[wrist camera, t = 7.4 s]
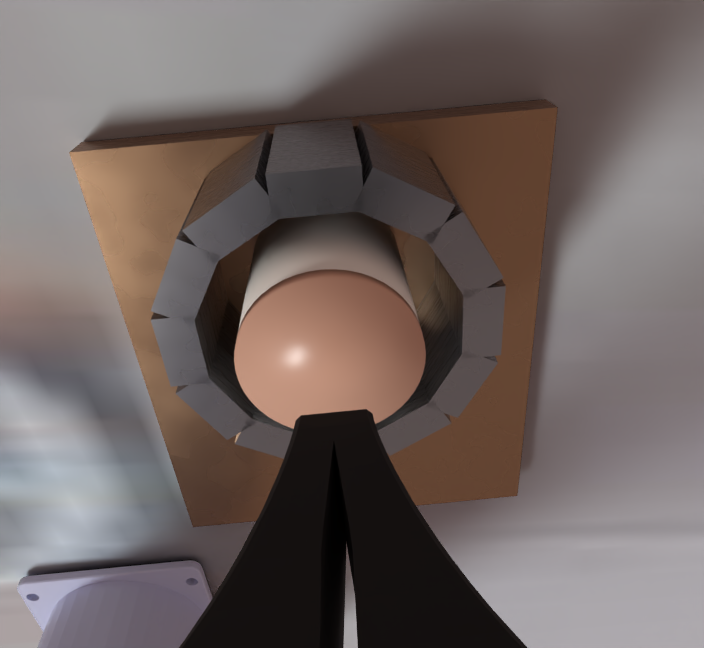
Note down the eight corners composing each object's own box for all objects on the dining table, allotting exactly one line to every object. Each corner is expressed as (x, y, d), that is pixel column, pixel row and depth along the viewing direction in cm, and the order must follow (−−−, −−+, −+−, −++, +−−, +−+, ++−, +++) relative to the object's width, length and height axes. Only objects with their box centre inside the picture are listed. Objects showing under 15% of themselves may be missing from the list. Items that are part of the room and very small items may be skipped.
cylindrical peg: (401, 319, 19) (426, 425, 15) (264, 333, 19) (251, 442, 15) (396, 187, 17) (424, 268, 13) (240, 202, 17) (216, 288, 13)
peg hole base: (510, 476, 25) (551, 586, 21) (197, 507, 25) (173, 623, 20) (546, 91, 17) (625, 140, 12) (79, 135, 17) (-1, 199, 12)
